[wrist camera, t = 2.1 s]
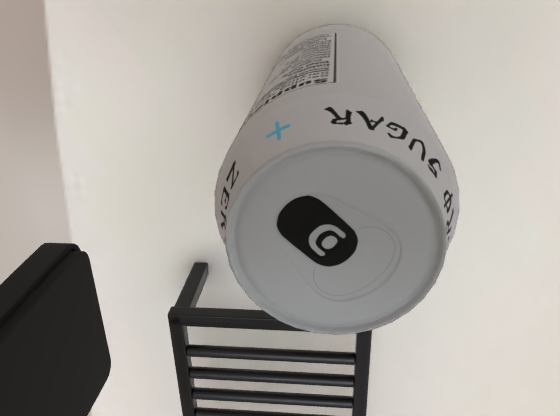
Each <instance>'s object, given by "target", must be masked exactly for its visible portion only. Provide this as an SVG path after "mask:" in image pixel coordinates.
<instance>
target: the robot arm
mask: <svg viewBox="0 0 560 416" xmlns="http://www.w3.org/2000/svg"><path fill="white" fill-rule="evenodd" d="M110 368H111V359H110V354H109V349H108V344H107V340H106V335H105V330H104V325H103V321H102V316H101V311H100V307H99V302H98V297H97V293H96V288H95V283H94V279H93V274H92V269H91V264H90V260H89V257H88V254H87V253H86V252H84V251H81V250H80V248H79V247H78V245H76V244H67V243H44V244H43V245H41V246H40V247H39V248H38V249H37V250H36V251H35V252H34V253H33V254H32V255H31V256H30V257H29V258H28V259H27V260H25V261H24V263H22V264H21V265H20V266H19V267H18V268H17V269H16V270H15V271H14V272H13V273H12V274H11V275H10V276H9V277H8V278H7V279H6V280H5V281H4V282H3V283H2V284H1V285H0V416H87V415H88V413H89V412H90V410H91V408H92V406H93V404H94V402H95V401H96V399H97V397H98V395H99V393H100V391H101V390H102V388H103V386H104V384H105V382H106V380H107V378H108V376H109V373H110Z"/></svg>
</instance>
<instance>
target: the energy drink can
mask: <svg viewBox="0 0 560 416" xmlns="http://www.w3.org/2000/svg"><path fill="white" fill-rule="evenodd" d="M458 215H459V187H458V183H457V179H456V175H455V171H454V167H453V165H452V163H451V161H450V159H449V157H448V155H447V153H446V151H445V149H444V147H443V145H442V144H441V142H440V140H439V138H438V136H437V134H436V133H435V131H434V129H433V127H432V125H431V124H430V122H429V120H428V118H427V116H426V115H425V113H424V111H423V109H422V107H421V105H420V104H419V102H418V100H417V98H416V96H415V95H414V93H413V91H412V89H411V87H410V86H409V84H408V82H407V80H406V78H405V76H404V75H403V73H402V71H401V69H400V67H399V66H398V64H397V62H396V60H395V58H394V56H393V55H392V53H391V52H390V50H389V49H388V48H387V47H386V45H385V44H384V43H383V42H382V41H381V40H379V39H378V38H377V37H376V36H374V35H373V34H371V33H369V32H367V31H365V30H363V29H362V28H358V27H355V26H351V25H344V24H331V25H324V26H320V27H317V28H314V29H311V30H309V31H307V32H305V33H304V34H302V35H300V36H299V37H297V38H296V39H295V40H294V41H293V42H292V43H290V44H289V45H288V46H287V47H286V49H285V50H284V52H283V53H282V54H281V56H280V57H279V59H278V61H277V62H276V64H275V66H274V68H273V70H272V72H271V73H270V75H269V77H268V79H267V81H266V83H265V84H264V86H263V88H262V90H261V92H260V94H259V95H258V97H257V99H256V101H255V103H254V105H253V106H252V108H251V110H250V112H249V114H248V116H247V117H246V119H245V121H244V123H243V125H242V126H241V128H240V130H239V132H238V134H237V136H236V137H235V139H234V141H233V143H232V145H231V147H230V148H229V150H228V152H227V155H226V157H225V159H224V161H223V164H222V166H221V168H220V170H219V174H218V179H217V184H216V189H215V216H216V220H217V224H218V228H219V232H220V235H221V238H222V240H223V242H224V244H225V246H226V251H227V256H228V260H229V264H230V267H231V269H232V271H233V273H234V275H235V278H236V280H237V282H238V283H239V285H240V286H241V287H242V289H243V290H244V291H245V293H246V294H247V295H248V297H249V298H250V299H251V300H252V301H253V302H255V303H256V304H257V305H258V306H259V307H260V308H261V309H262V310H263V311H265V312H267V313H268V314H270V315H271V316H273V317H274V318H276V319H277V320H279V321H281V322H284V323H286V324H288V325H291V326H293V327H295V328H298V329H302V330H306V331H310V332H314V333H323V334H333V335H338V334H355V333H359V332H364V331H368V330H373V329H376V328H378V327H381V326H383V325H386V324H388V323H391V322H393V321H395V320H396V319H398V318H400V317H401V316H403V315H405V314H406V313H408V312H409V311H410V310H411V309H413V308H414V307H415V306H416V305H417V304H418V303H419V302H420V301H421V300H423V299H424V297H425V296H426V295H427V293H428V292H429V291H430V289H431V288H432V287H433V285H434V284H435V282H436V280H437V278H438V276H439V273H440V271H441V269H442V267H443V263H444V259H445V254H446V251H447V249H448V246H449V244H450V242H451V240H452V238H453V235H454V233H455V229H456V224H457V220H458Z"/></svg>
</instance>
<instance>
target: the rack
mask: <svg viewBox="0 0 560 416" xmlns="http://www.w3.org/2000/svg"><path fill="white" fill-rule="evenodd" d="M208 274H209V273H208V264H207V263H194V265H193V267H192V269H191V271H190V274H189V276H188V278H187V280H186V282H185V285H184V287H183V289H182V291H181V293H180V295H179V298H178V300H177V302H176V304H175V306H174V307H171V308H170V311H169V313H168V321H169V326H170V333H171V340H172V346H173V353H174V360H175V366H176V373H177V380H178V386H179V393H180V400H181V406H182V413H183V416H332V415H316V414H300V413H283V412H267V411H251V410H235V409H218V408H202V407H197V401H196V399H202V400H219V401H236V402H253V403H269V404H286V405H303V406H320V407H336V408H352V416H366V409H367V394H368V379H369V364H370V350H371V335H372V330H368V331H364V332H359V333H355V334H356V344H355V353H354V352H334V351H313V350H293V349H273V348H252V347H232V346H211V345H191V344H189V340H188V333H187V326H197V327H219V328H241V329H263V330H285V331H306V330H302V329H298V328H295V327H293V326H291V325H288V324H286V323H284V322H281V321H279V320H277V319H276V318H274V317H273V316H271V315H270V314H268V313H267V312H265V311H263V310H244V309H220V308H196V307H195V306H196V304H197V301H198V299H199V296H200V294H201V291H202V289H203V286H204V284H205V281H206V279H207V276H208ZM307 332H310V331H307ZM191 357H210V358H229V359H248V360H268V361H287V362H307V363H326V364H346V365H354V375H345V374H326V373H307V372H288V371H270V370H251V369H232V368H214V367H195V366H192V363H191ZM194 378H196V379H214V380H232V381H250V382H268V383H286V384H304V385H322V386H340V387H353V397H352V396H338V395H321V394H303V393H286V392H268V391H251V390H234V389H216V388H199V387H195V386H194Z"/></svg>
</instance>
